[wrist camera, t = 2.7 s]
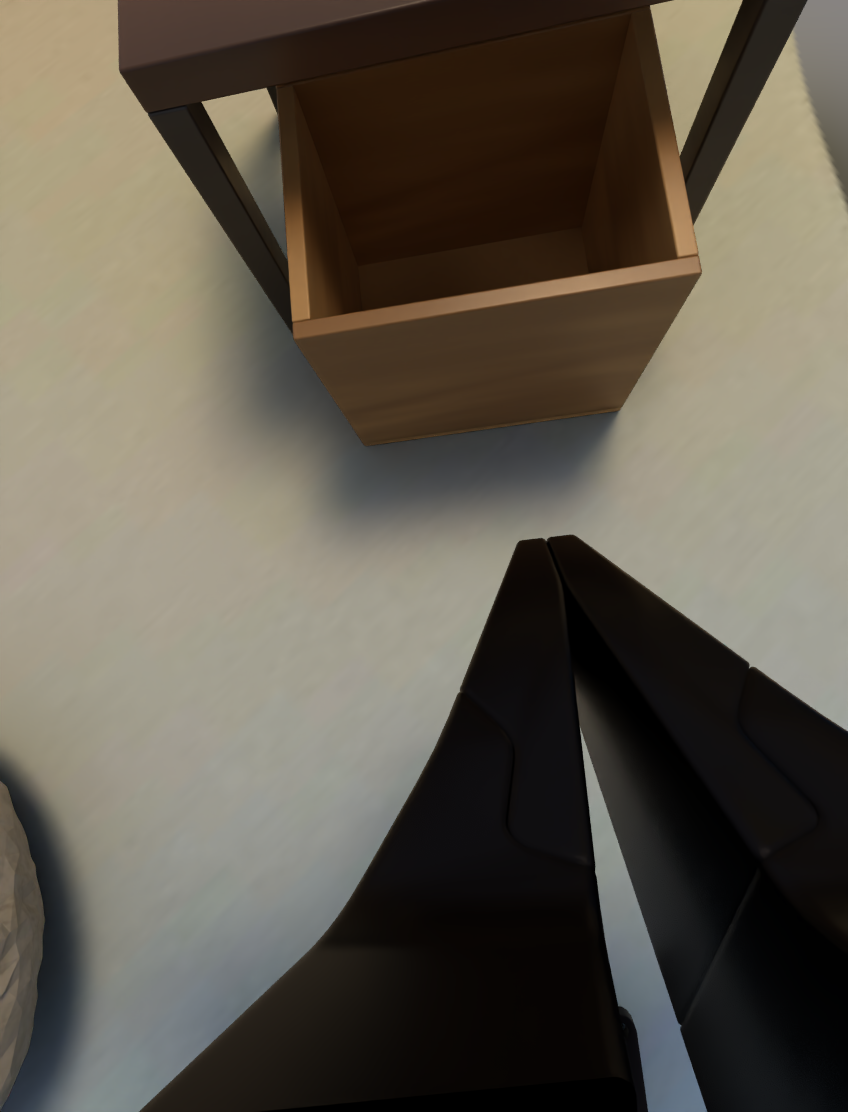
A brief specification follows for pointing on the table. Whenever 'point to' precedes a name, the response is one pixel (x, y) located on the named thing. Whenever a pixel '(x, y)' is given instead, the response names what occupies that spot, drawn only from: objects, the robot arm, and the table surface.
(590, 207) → the wooden box
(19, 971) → the grey rounded stone
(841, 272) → the table surface
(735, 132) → the desk shelf
